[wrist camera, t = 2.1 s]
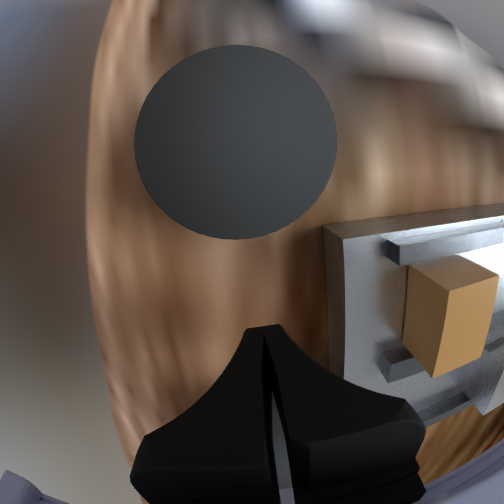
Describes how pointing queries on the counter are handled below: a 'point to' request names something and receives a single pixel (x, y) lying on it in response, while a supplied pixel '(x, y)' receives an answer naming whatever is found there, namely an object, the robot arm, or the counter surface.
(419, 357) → the toggle
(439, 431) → the counter surface
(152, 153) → the pair of grey cylinders
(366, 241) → the power strip
